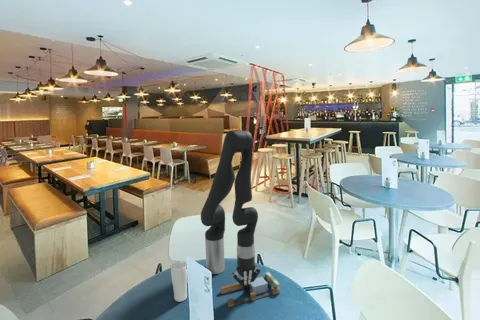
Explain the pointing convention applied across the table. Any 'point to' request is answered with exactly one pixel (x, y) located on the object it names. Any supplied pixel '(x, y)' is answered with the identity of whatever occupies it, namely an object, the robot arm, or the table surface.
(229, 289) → the lane
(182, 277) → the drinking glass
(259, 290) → the brick
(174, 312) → the table surface
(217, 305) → the table surface
